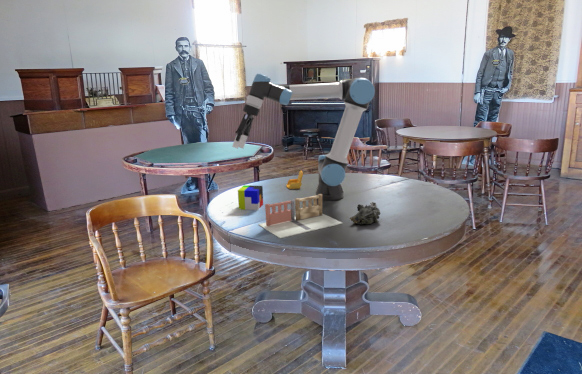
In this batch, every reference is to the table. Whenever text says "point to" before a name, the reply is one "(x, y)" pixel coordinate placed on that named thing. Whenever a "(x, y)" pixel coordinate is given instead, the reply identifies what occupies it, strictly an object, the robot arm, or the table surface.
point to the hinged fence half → (279, 213)
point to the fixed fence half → (310, 210)
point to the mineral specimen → (366, 214)
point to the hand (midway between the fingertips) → (237, 147)
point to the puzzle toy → (250, 197)
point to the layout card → (300, 225)
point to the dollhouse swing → (295, 182)
